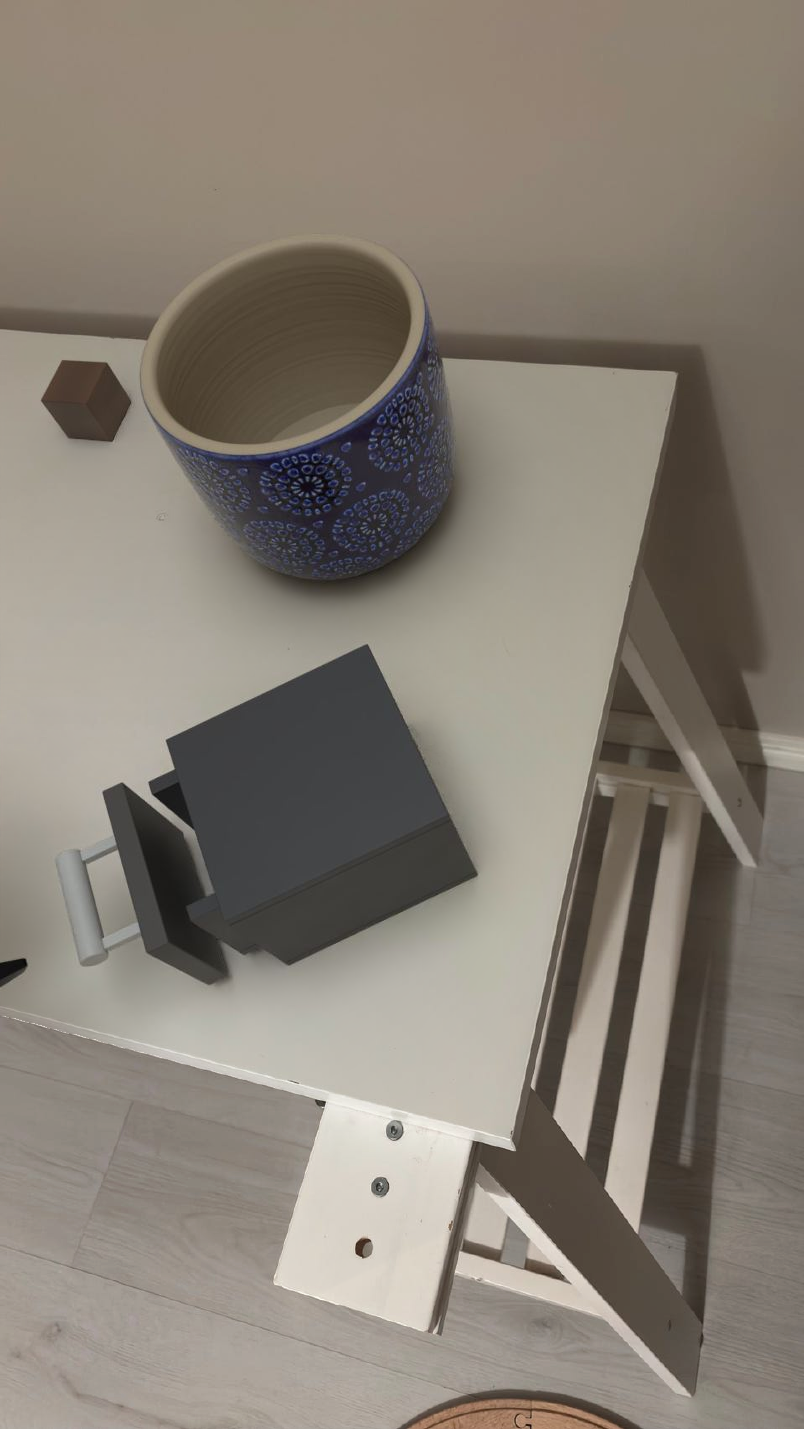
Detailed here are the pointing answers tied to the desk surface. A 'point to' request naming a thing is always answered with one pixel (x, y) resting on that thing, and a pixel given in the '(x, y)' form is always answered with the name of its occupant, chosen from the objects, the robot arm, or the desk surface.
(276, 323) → the planter
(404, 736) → the cabinet
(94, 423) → the walnut block
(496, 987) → the desk surface
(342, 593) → the desk surface
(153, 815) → the drawer
